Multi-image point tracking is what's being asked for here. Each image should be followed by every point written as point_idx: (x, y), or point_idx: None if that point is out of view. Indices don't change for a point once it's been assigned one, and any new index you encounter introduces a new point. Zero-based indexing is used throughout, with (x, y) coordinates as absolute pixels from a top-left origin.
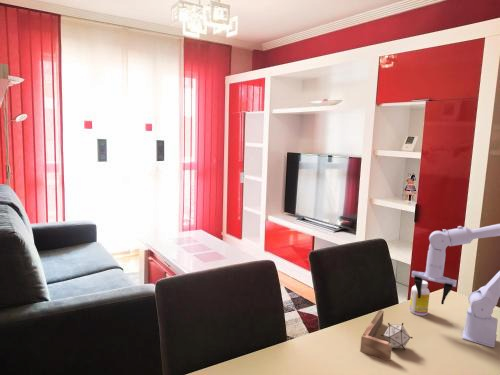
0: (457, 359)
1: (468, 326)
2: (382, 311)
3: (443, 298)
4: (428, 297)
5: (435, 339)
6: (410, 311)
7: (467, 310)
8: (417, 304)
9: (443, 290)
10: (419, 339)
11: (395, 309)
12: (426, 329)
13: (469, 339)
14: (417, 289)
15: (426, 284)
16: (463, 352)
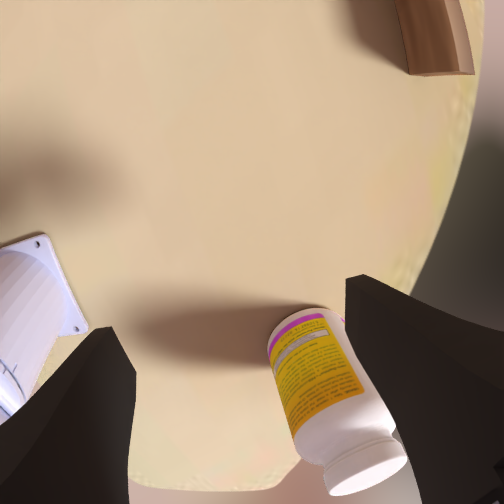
0: (17, 22)
1: (10, 288)
2: (460, 59)
3: (66, 372)
4: (289, 417)
5: (131, 104)
6: (338, 314)
7: (2, 372)
8: (327, 345)
9: (15, 467)
10: (201, 30)
11: (396, 283)
12: (211, 185)
13: (22, 244)
14: (451, 316)
15: (334, 481)
16: (7, 104)
